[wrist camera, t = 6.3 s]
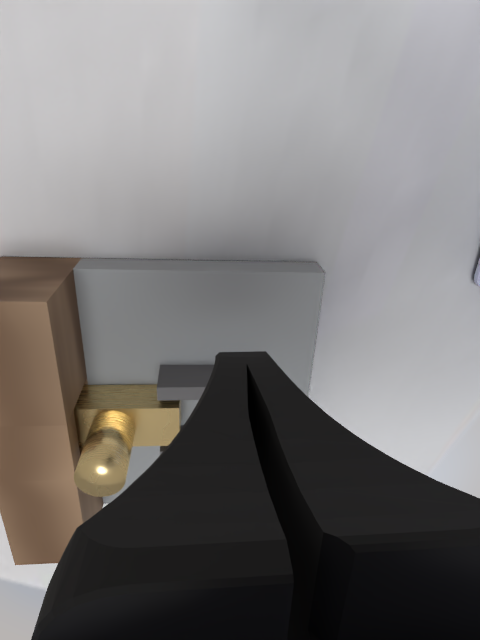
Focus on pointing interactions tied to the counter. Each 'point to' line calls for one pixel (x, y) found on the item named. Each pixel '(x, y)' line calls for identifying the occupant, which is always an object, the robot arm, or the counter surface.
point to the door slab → (192, 324)
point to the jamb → (40, 407)
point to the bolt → (118, 432)
